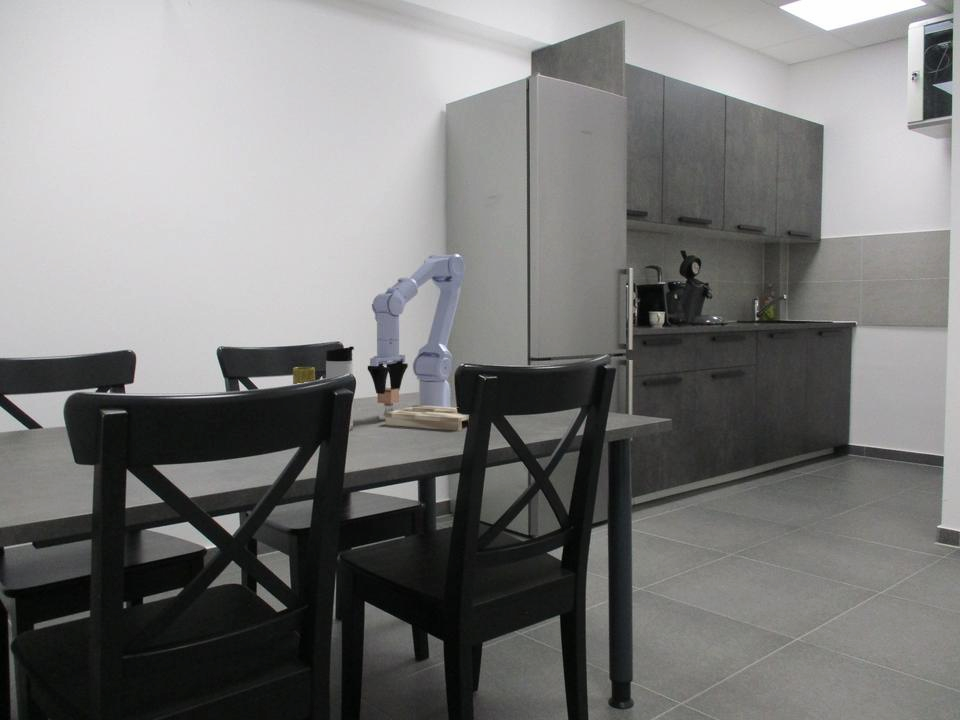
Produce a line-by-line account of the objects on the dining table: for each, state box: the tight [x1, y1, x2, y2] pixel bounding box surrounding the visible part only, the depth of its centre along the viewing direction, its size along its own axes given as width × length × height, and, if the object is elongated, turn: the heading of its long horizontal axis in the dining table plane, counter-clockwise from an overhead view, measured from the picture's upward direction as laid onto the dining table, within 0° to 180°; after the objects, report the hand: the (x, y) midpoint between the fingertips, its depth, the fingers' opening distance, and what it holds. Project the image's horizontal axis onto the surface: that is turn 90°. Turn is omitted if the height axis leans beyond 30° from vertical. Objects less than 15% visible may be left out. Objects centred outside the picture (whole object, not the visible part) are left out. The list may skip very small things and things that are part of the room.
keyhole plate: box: [385, 404, 469, 432], centre depth 203 cm, size 16×20×3 cm
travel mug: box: [325, 346, 355, 431], centre depth 191 cm, size 6×7×20 cm
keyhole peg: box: [377, 387, 400, 422], centre depth 208 cm, size 5×5×8 cm
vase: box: [292, 366, 316, 385], centre depth 198 cm, size 6×6×14 cm
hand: (388, 392), depth 208 cm, fingers open, 7 cm apart
